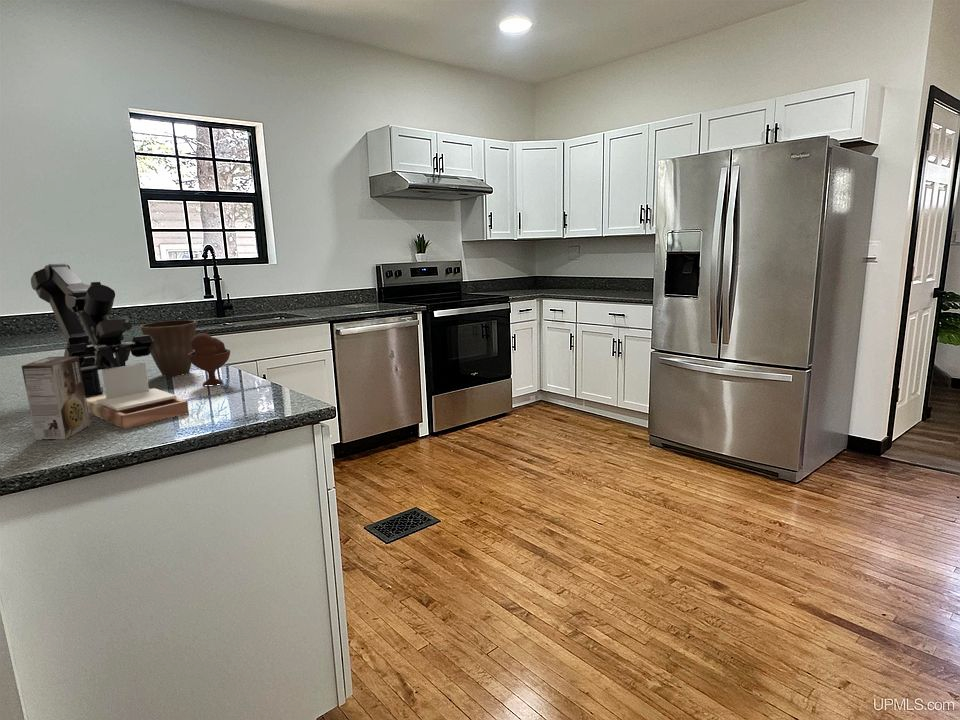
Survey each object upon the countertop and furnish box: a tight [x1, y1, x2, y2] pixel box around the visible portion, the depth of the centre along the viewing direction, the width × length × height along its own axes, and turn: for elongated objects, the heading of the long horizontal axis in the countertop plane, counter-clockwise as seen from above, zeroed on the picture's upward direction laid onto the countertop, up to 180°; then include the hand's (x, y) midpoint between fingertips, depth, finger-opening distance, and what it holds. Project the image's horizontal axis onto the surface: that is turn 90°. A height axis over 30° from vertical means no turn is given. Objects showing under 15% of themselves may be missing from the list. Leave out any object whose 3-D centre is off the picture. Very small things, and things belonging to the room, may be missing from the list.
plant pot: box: [140, 319, 197, 377], centre depth 175 cm, size 15×15×16 cm
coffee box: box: [20, 355, 92, 441], centre depth 121 cm, size 9×6×16 cm
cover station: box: [86, 394, 190, 430], centre depth 136 cm, size 24×14×3 cm, turn 52°
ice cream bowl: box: [187, 333, 231, 385], centre depth 161 cm, size 11×11×15 cm
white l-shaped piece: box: [96, 362, 178, 411], centre depth 134 cm, size 12×13×8 cm
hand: (123, 376), depth 138 cm, fingers closed, pressing on white l-shaped piece
